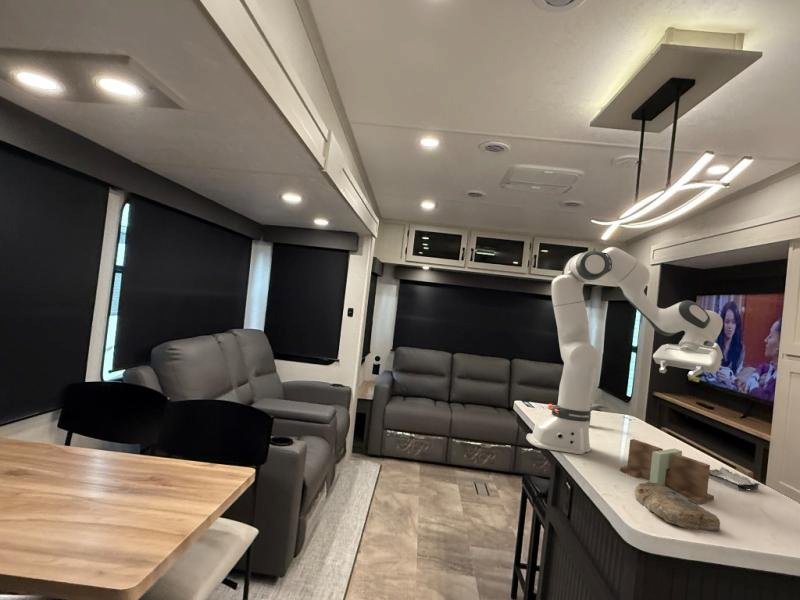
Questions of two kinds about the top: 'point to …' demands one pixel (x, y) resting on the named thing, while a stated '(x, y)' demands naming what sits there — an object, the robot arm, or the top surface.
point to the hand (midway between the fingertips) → (675, 374)
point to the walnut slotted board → (671, 471)
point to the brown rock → (675, 507)
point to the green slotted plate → (661, 464)
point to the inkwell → (597, 406)
